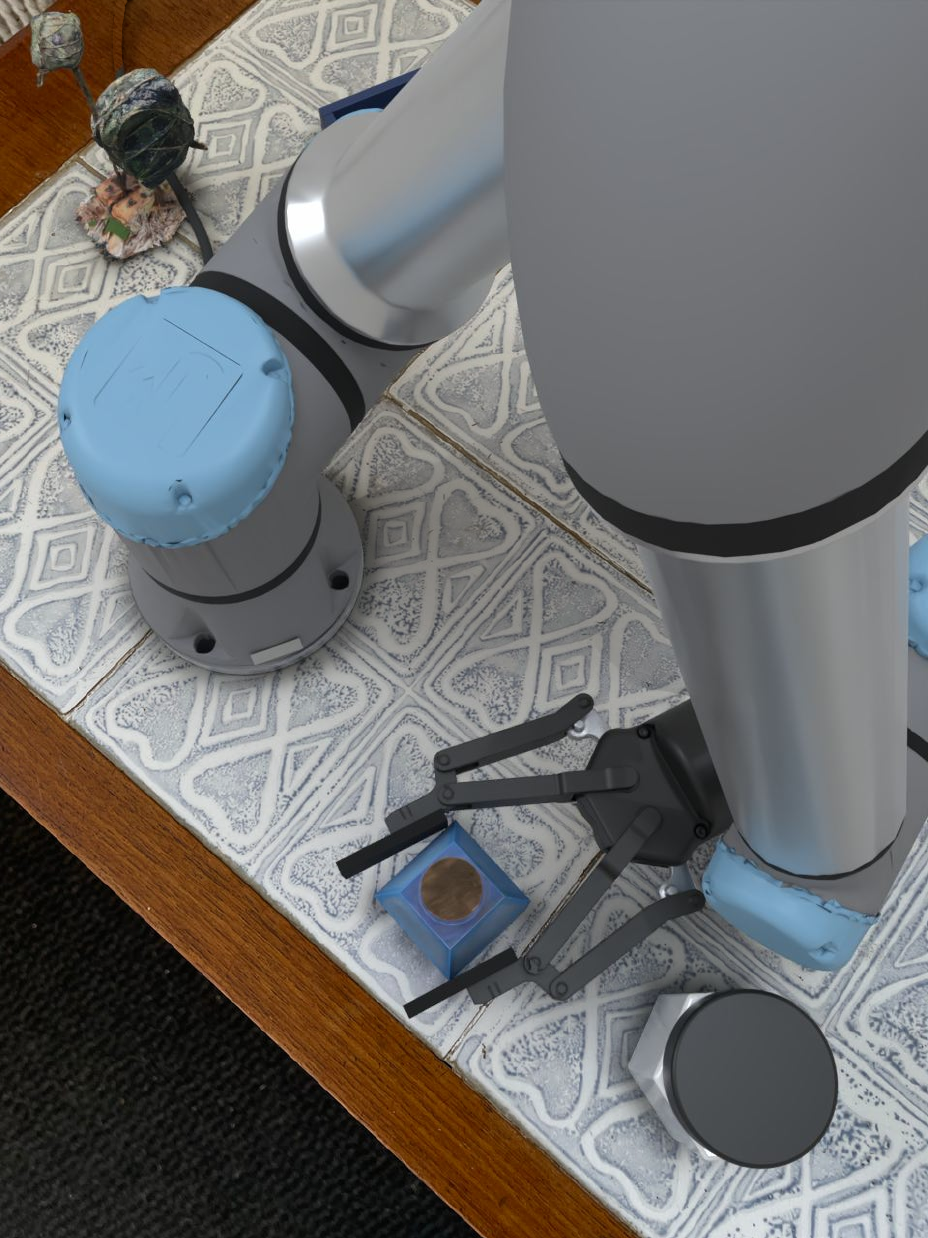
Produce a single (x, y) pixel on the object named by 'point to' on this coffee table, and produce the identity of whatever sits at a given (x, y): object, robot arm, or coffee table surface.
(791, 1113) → the jar
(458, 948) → the perfume bottle
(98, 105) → the plant with pod
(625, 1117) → the coffee table surface
